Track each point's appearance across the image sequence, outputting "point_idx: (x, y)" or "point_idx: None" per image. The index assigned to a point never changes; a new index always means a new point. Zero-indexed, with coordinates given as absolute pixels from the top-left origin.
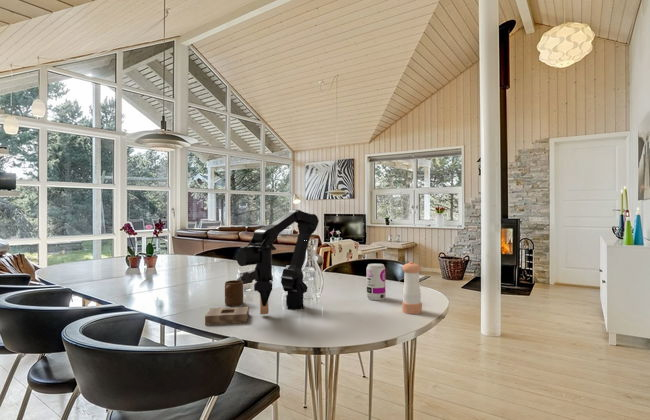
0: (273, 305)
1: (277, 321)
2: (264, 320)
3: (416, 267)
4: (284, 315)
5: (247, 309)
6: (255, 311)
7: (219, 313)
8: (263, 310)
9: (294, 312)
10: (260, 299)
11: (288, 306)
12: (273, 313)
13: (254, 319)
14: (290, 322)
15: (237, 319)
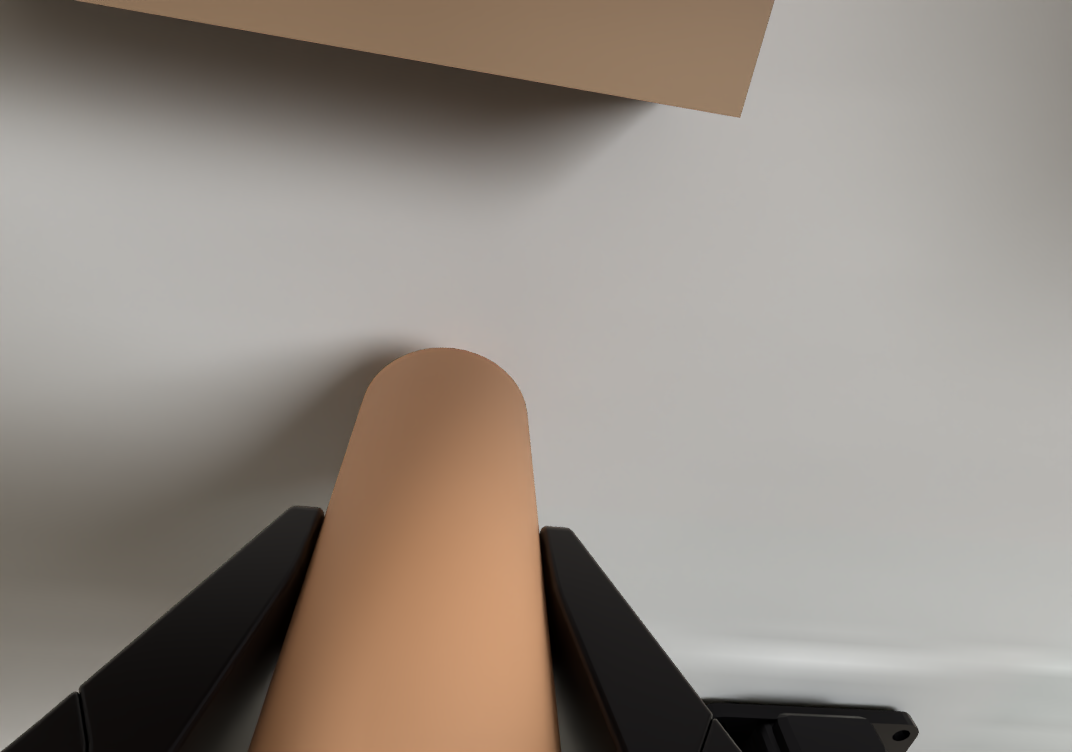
0: (1035, 562)
1: (97, 544)
2: (170, 369)
3: None
4: None
5: (405, 46)
6: (855, 259)
7: None
8: (347, 447)
9: None
10: (362, 591)
11: (759, 731)
12: (574, 529)
13: (264, 190)
14: (42, 676)
15: None
